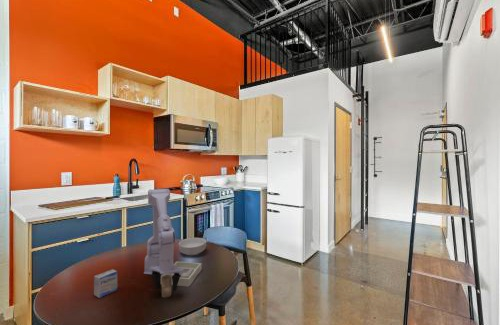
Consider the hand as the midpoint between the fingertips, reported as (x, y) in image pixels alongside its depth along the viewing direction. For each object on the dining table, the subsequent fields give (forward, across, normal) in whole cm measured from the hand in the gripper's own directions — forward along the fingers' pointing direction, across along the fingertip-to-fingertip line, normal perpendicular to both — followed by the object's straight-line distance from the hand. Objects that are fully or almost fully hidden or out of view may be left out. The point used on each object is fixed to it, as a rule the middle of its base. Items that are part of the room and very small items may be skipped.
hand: (166, 289), depth 105 cm
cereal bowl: (+3, -6, +46) cm, 46 cm away
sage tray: (+2, 0, +16) cm, 17 cm away
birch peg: (+3, 0, 0) cm, 3 cm away
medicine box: (+3, -27, -2) cm, 27 cm away
